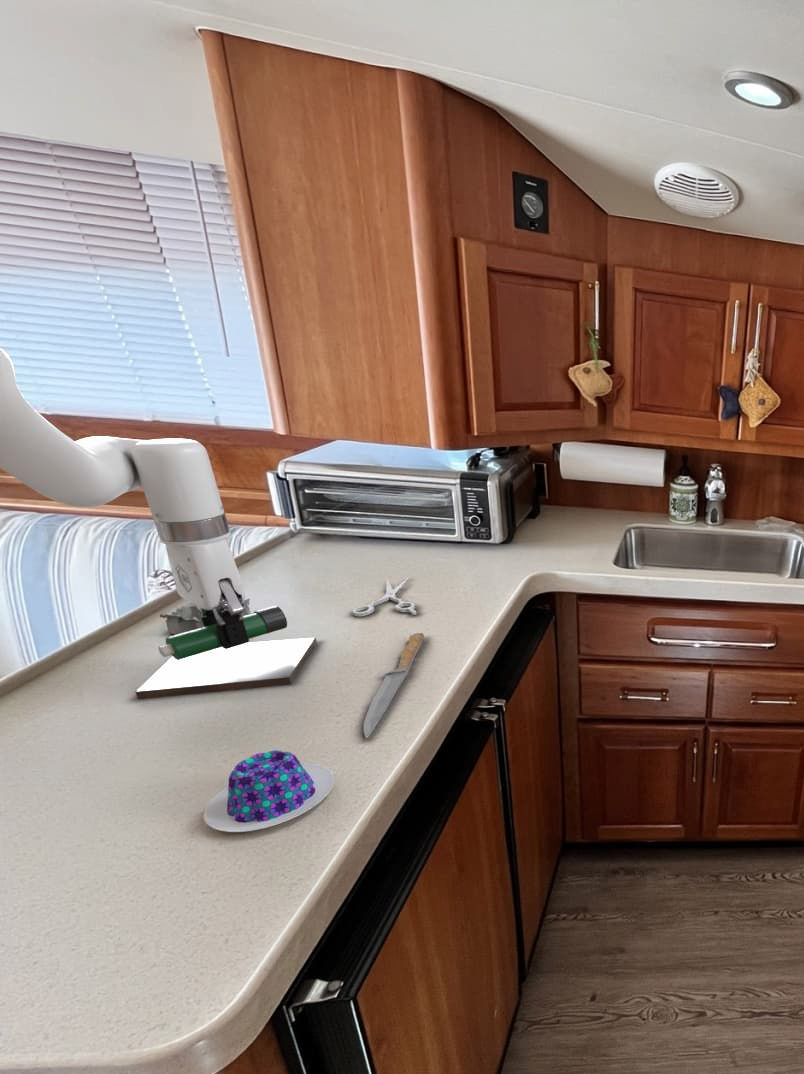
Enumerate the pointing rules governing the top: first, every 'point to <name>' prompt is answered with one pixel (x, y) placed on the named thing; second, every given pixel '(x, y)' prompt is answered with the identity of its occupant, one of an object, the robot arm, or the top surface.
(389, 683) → the knife
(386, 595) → the scissors
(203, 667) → the board
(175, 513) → the robot arm
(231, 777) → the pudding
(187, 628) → the egg carton
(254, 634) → the marker
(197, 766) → the top surface
